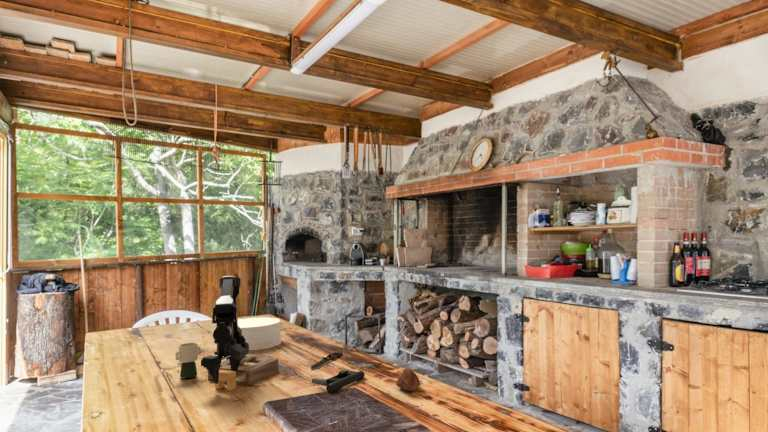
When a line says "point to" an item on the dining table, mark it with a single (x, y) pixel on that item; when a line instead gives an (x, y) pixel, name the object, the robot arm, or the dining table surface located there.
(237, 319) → the robot arm
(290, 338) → the dining table surface
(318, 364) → the knife
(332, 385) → the door handle
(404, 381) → the fossil
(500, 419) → the dining table surface
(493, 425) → the dining table surface
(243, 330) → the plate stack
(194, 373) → the character mug
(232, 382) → the tall grooved wooden block
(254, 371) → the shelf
